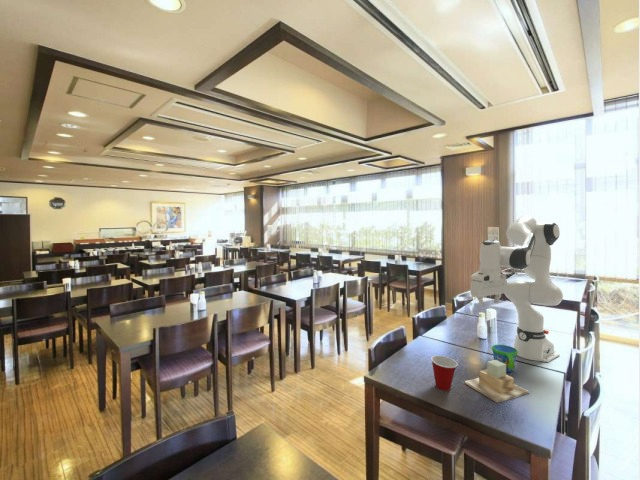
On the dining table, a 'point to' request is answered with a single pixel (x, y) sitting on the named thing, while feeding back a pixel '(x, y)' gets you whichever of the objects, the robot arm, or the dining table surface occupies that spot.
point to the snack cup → (505, 355)
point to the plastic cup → (443, 371)
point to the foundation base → (494, 394)
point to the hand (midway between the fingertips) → (489, 304)
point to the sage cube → (496, 368)
